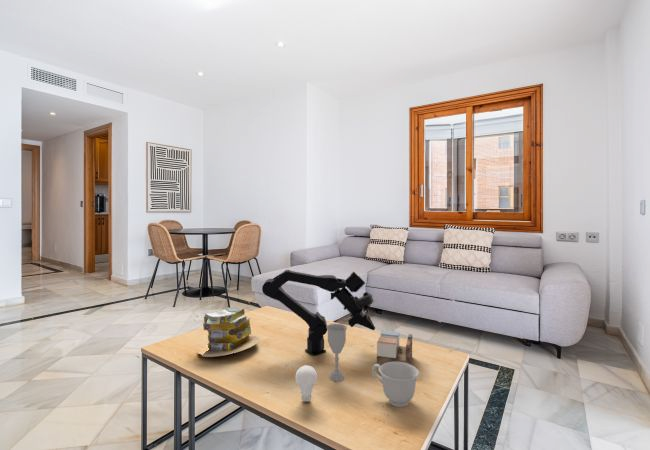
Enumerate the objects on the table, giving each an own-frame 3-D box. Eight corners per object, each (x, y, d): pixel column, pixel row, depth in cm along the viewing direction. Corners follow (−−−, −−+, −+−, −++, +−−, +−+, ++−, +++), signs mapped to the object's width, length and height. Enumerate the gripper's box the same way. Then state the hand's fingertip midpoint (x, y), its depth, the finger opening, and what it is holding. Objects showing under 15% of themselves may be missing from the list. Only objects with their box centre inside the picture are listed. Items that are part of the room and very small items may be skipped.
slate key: (380, 347, 135) (380, 333, 134) (381, 343, 139) (381, 330, 139) (398, 349, 132) (398, 335, 132) (399, 345, 137) (399, 331, 137)
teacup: (380, 385, 114) (380, 355, 114) (424, 399, 106) (424, 367, 105) (363, 401, 104) (363, 369, 104) (410, 418, 96) (410, 384, 95)
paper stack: (184, 353, 140) (184, 313, 139) (231, 334, 161) (230, 299, 160) (226, 368, 127) (225, 324, 126) (271, 345, 148) (270, 307, 147)
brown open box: (376, 367, 127) (376, 342, 127) (381, 353, 139) (382, 330, 139) (409, 372, 123) (410, 346, 123) (412, 357, 136) (412, 333, 135)
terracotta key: (376, 355, 127) (376, 341, 127) (378, 351, 131) (378, 337, 131) (395, 358, 125) (396, 343, 125) (397, 353, 129) (397, 339, 129)
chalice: (349, 374, 121) (349, 325, 121) (344, 384, 115) (344, 331, 114) (329, 371, 124) (329, 322, 123) (323, 380, 117) (323, 329, 117)
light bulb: (295, 396, 108) (295, 362, 107) (316, 395, 108) (316, 361, 108) (295, 408, 101) (295, 372, 101) (317, 407, 102) (317, 371, 101)
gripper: (356, 292, 129) (385, 324, 127) (365, 282, 147) (391, 310, 144) (336, 311, 132) (364, 342, 129) (348, 299, 150) (373, 326, 147)
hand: (374, 329), depth 137 cm, fingers closed
